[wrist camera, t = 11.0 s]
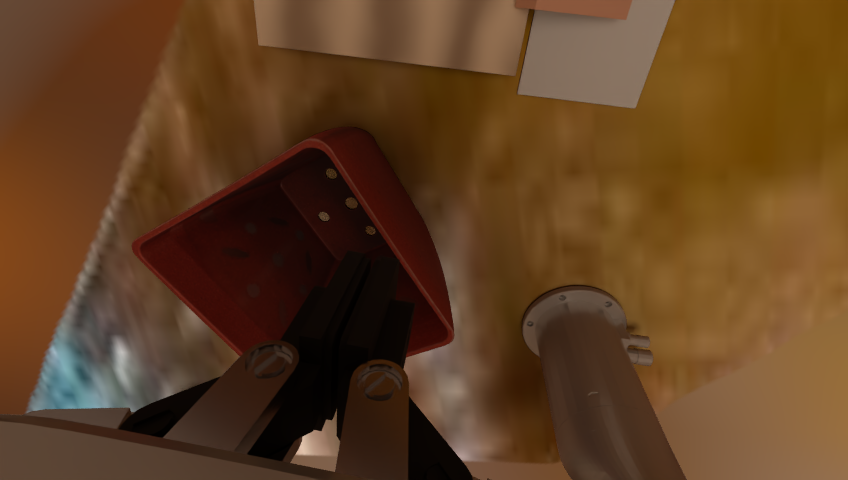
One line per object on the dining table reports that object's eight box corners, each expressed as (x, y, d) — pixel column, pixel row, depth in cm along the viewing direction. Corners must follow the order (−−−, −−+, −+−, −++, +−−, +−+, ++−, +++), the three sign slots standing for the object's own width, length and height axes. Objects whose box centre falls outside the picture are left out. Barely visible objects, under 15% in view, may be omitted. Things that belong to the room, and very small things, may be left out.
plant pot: (332, 291, 52) (280, 400, 38) (234, 168, 45) (122, 247, 30) (462, 236, 46) (459, 342, 32) (375, 83, 38) (319, 131, 24)
